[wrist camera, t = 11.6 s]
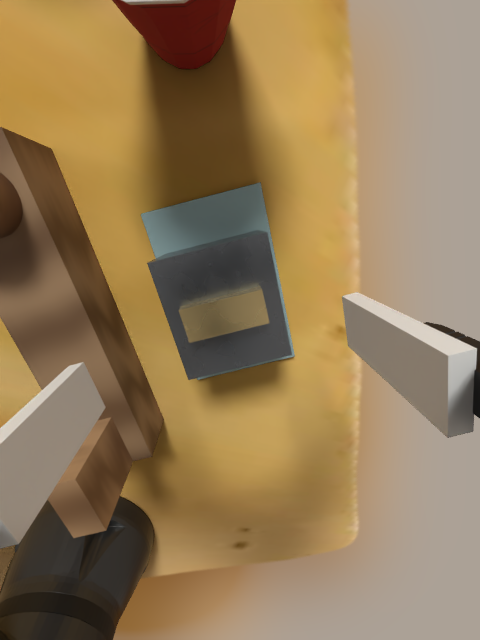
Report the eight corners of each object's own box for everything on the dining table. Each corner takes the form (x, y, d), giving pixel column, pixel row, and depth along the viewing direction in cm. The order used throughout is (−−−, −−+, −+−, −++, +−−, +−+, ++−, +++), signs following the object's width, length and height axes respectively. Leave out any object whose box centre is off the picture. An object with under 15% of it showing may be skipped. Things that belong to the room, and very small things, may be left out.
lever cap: (277, 326, 26) (295, 361, 20) (196, 346, 26) (187, 387, 20) (257, 229, 23) (269, 232, 17) (165, 253, 24) (142, 265, 17)
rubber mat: (293, 354, 28) (294, 356, 27) (197, 377, 28) (197, 379, 28) (259, 183, 23) (260, 182, 22) (142, 214, 23) (140, 214, 22)
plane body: (163, 419, 30) (130, 524, 19) (110, 432, 30) (49, 543, 19) (51, 148, 21) (-118, 75, 11) (-23, 169, 21) (-260, 116, 11)
